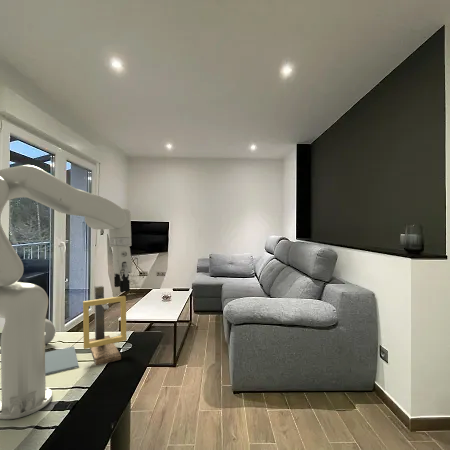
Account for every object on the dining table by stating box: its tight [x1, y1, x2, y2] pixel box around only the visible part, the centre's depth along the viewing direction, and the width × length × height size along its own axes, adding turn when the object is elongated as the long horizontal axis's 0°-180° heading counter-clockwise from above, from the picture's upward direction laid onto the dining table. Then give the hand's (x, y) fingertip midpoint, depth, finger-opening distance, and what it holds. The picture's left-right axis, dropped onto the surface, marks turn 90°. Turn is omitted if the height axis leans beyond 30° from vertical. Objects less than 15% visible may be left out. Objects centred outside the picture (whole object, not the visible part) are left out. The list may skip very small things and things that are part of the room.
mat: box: [45, 346, 79, 376], centre depth 102 cm, size 18×12×1 cm, turn 31°
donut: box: [45, 318, 56, 345], centre depth 117 cm, size 10×4×10 cm, turn 76°
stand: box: [89, 285, 122, 366], centre depth 109 cm, size 22×8×22 cm, turn 31°
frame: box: [82, 295, 127, 350], centre depth 105 cm, size 2×14×16 cm, turn 121°
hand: (121, 288), depth 108 cm, fingers open, 9 cm apart
